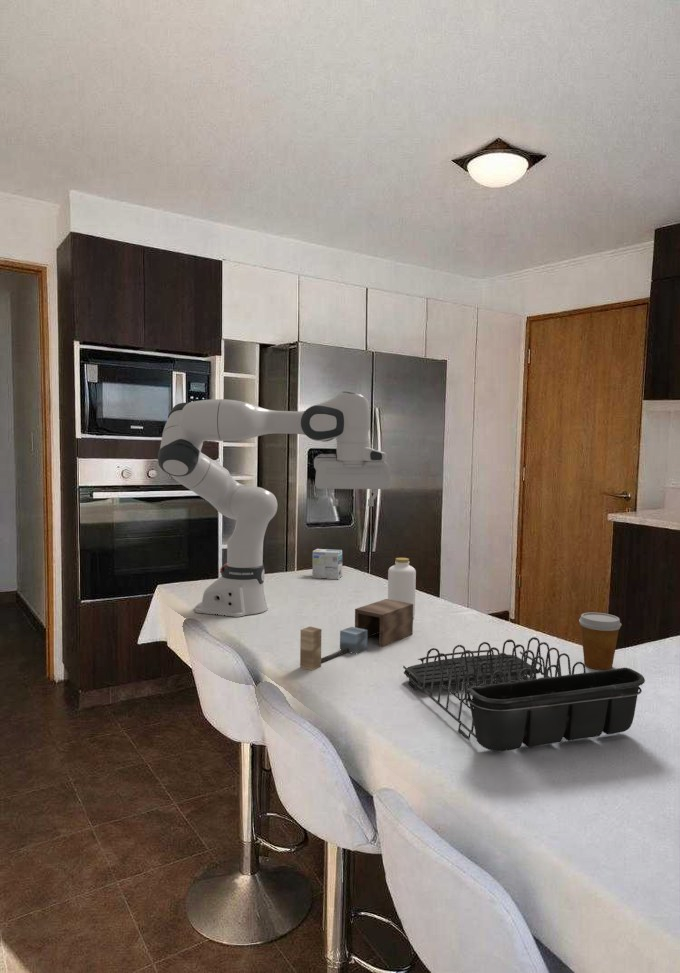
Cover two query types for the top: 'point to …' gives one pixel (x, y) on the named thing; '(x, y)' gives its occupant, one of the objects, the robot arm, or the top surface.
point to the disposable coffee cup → (599, 639)
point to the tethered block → (311, 645)
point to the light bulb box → (327, 564)
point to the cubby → (386, 620)
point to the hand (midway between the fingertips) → (353, 506)
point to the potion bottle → (402, 582)
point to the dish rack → (530, 696)
